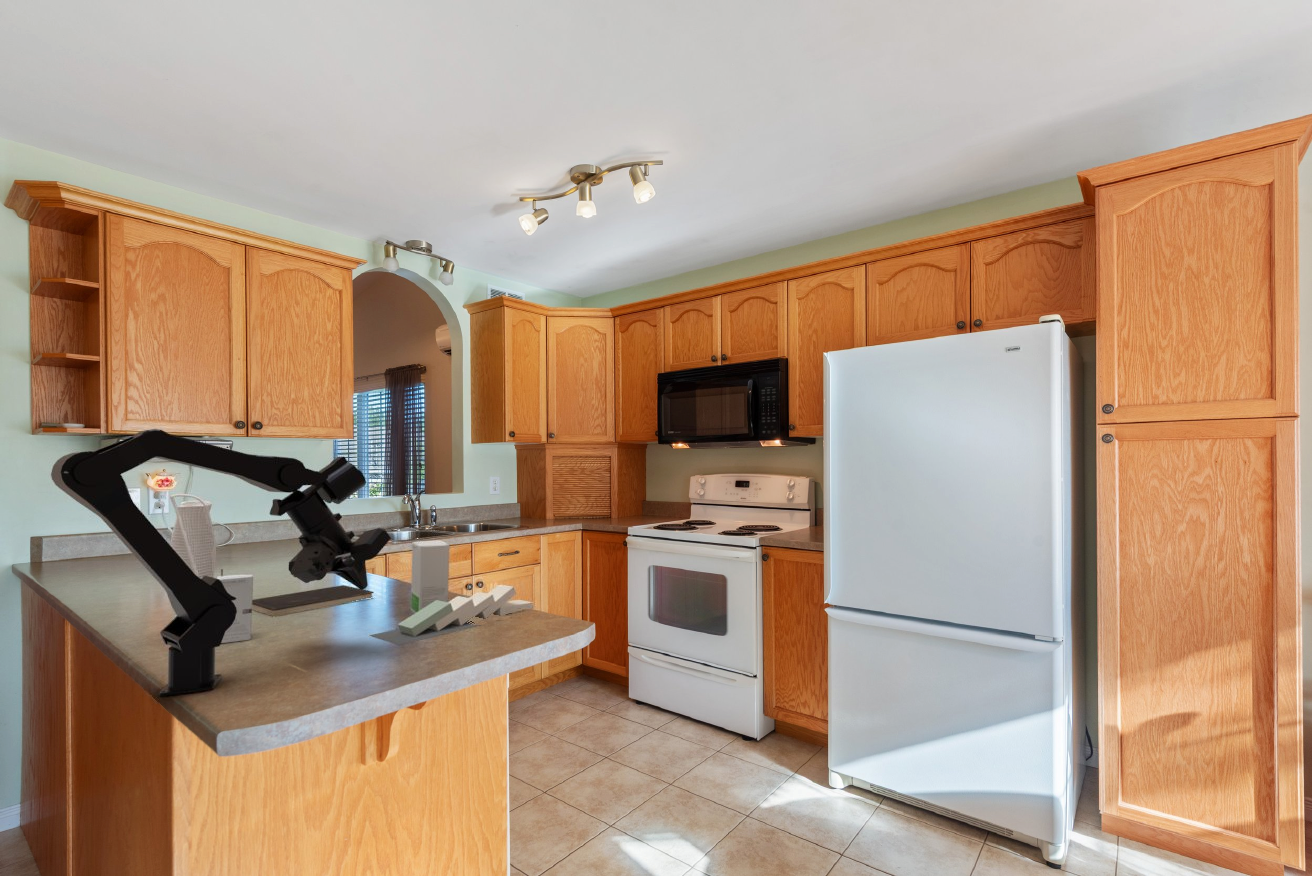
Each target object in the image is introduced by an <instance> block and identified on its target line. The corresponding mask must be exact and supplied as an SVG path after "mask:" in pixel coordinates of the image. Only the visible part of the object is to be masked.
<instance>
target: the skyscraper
mask: <svg viewBox="0 0 1312 876" xmlns="http://www.w3.org/2000/svg"><path fill="white" fill-rule="evenodd" d="M176 497H187V498H192V499H195V500H185V501H182V502H180V503H179V505H177V504H176V501H175V498H176ZM169 499H170V500H171V503H172V507H173V508H174V510H175V511H174V512H175V514H176V515H175V516H176V517H175V521H174V524H173V525H174V526H173V529H172V532H171V533H172V534H171V537H170V543H169V545H170V546H171V547H172V548H173V549H174V550H175V552H176V553H177V554H178V555H179V556H180V557H181V559H182V560H183V561H184V562H185V563H186V564H187V566H188V567H189V568H190V569H191V570H192V571H193V572H194V574H195V575H196V576H198V577H199V578H200V579H202V578H203V577H204V576H209V577H213V578H215V577H214V576H215V569H216V561H217V545H216V536H215V532H214V527H213V522H212V518H211V515H210V514H211V513H210V510H211V508H212V505H213V504H212V502H211V501H208V500H207V501H206V500H203V499H202V498H201V497H199V496H197V495H194V494H188V493H175V494H172V495H170V496H169ZM220 576H224V568H220ZM176 616H177V615H176V613H175V614H174V616H173V619H174V618H175V617H176Z"/></svg>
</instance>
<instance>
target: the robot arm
mask: <svg viewBox="0 0 1312 876" xmlns="http://www.w3.org/2000/svg"><path fill="white" fill-rule="evenodd" d="M152 459H159V460H164V461H168V462H173V463H177V464H181V465H185V466H188V467H194V468H199V469H202V470H207V471H211V472H214V473H215V472H216V473H221V474H224V475H229V476H233V477H235V478H237V479H240V480H243V481H244V482H245V483H248V484H250V485H252V486H255V487H257V488H260V489H261V490H263V491H264V490H265V491H267V492H271V493H289V494H288V495H286V496H285V497H284V498H283V499H280V498H274V499H272V505H271V507H270V510H269V515H270V516H274V517H275V516H276V517H282V516H283V515H285V514H287V515H288V517H289V518H290V519H291V521H292V522H293V523H294V525H295V526H296V527H297V529H298V530H299V532H300V533H301V535H299V536H298V541H299V544H300V545H301V547H302V549H301V550H300V551H299V552H297V554H296V555H295V556H294V557H293V558H291V560H290V561H289V562H288V571H289V572H290V575H292V576H293V578H296V579H298V580H300V581H302V582H303V583H304V584H309V583H310V582H313V581H321V580H323V579H324V578H325V577H326V575H327V574H332V575H333V574H335V575H337V576H338V577H340V578H342V579H343V580H345V581H347V582H349V583H350V584H352V585H353V586H355V588H358V589H361V590H362V589H363V590H366V589H367V588H368V586H369V585H368V577H367V574H368V573H367V567H366V566H367V565H366V561H369V560H372V559H374V558H376V557H377V556H378V554H379V553H380V552H381V551H382V550H383V549H384V547H385V546H386V545H387V543H389V541H390V540H391V536H390V534H389V533H388V531H387V530H386V529H385V528H382V527H377V528H373V529H369V530H366V531H363V533H362V534H361V535H360V536H359V537H358V538H356V539H353V538H354V537H355V533H354V532H353V531H352V530H350V531H346V530H345V528H344V527H343V526H342V524H341V523H340V520H342V518H343V516H342V514H340V512H338V513H333V511H332V510H331V508H330V507H329V506H328V505H327V504H331V503H334V504H336V505H340V504H341V503H343V502H344V501H346V500H347V499H348V498H349V497H351V496H352V495H354V494H355V493H357V491H359V490H361V489H362V488H363V487H365V486H366V484H367V481H366V477H365V475H364V474H363V472H362V470H361V469H358V468H357V467H356V466H355V465H354V464H353V463H352V462H350V461H348V460H347V458H346V457H345V456H337V457H336V458H334V459H333V460H332V461H331V462H330V463H329V464H327V465H326V466H325V467H323V468H321V469H320V470H319V471H317V470H313V469H310V468H306V466H305V465H304V463H303V462H302V461H301V460H299V459H297V458H295V457H294V458H293V457H284V456H276V455H275V456H274V455H263V454H262V455H261V454H252V453H251V454H249V453H245V452H240V451H237V450H233V449H229V448H226V447H222V446H219V445H214V444H210V443H206V442H203V441H199V440H195V439H192V438H191V439H190V438H187V437H182V436H179V435H175V434H171V433H168V432H166V431H165V430H163V429H157V428H152V429H145V430H141V431H139V432H137V433H135V434H134V435H132V436H130V437H127V438H125V439H122V440H120V441H117V442H114V443H112V444H110V445H106V446H104V447H102V448H100V449H97V450H96V449H95V451H91V450H89V451H88V450H87V451H79V452H78V451H77V452H76V451H75V452H70V453H67V454H65V455H63V456H62V457H61V456H60V457H59V458H58V459H57V460H56V461H55V462H54V464H53V465H52V469H51V473H50V477H51V480H52V482H53V483H54V485H55V486H56V487H57V488H59V489H60V490H61V491H62V492H64V493H65V494H67V495H68V496H69V497H71V498H72V499H73V500H75V501H76V502H77V503H79V504H81V505H82V506H83V507H85V508H87V510H89V511H90V512H92V513H93V514H95V515H97V516H98V517H99V518H100V519H101V520H102V521H103V522H104V523H105V525H107V527H108V528H110V530H111V531H112V533H114V535H116V536H117V538H118V539H119V540H120V541H121V543H123V544H124V545H125V547H126V548H127V549H128V550H129V551H130V553H132V555H134V556H135V558H136V559H137V560H138V561H139V562H140V563H141V564H142V566H144V567H145V569H146V570H147V571H148V572H149V574H150V575H151V576H152V577H153V578H154V579H155V580H156V581H157V582H158V583H159V584H160V586H161V587H162V588H163V589H164V591H165V592H166V594H167V597H168V600H169V603H170V605H171V608H172V609H173V611H174V612H175V613H176V615H177V616H176V617H175V618H174V617H173V619H171V621H170V622H169V623H168V624H167V625H166V626H165V627H164V628H163V629H162V630H161V631H160V636H161V639H162V640H163V643H164V644H165V645H168V646H169V647H168V656H167V657H168V659H167V660H168V664H167V667H168V670H167V671H168V673H167V684H166V685H165V686H164V687H163V688H162V689H161V690H160V691H159V694H158V695H159V696H160V697H164V696H172V695H181V694H189V693H196V692H204V691H210V690H214V688H215V687H216V685H217V684H218V683H219V681H220V680H222V678H223V677H222V676H223V675H222V673H217V674H216V648H217V647H220V646H221V644H222V643H221V642H222V639H223V637H224V634H225V632H226V630H227V629H228V628H229V627H230V626H231V625H232V624H233V622H234V620H235V617H236V613H237V609H236V606H235V605H234V603H233V602H232V600H236V597H233V596H231V595H230V594H229V593H228V592H227V591H226V589H225V587H224V586H223V584H222V582H221V581H220V580H219V579H217V577H209V576H204V577H203V578H202V579H200V578H199V577H198V576H196V575H195V574H194V572H193V571H192V570H191V569H190V568H189V567H188V566H187V564H186V563H185V562H184V561H183V560H182V559H181V557H180V556H179V555H178V554H177V553H176V552H175V550H174V549H173V548H172V547H171V546H170V543H169V542H168V541H167V540H166V539H165V538H164V537H163V535H162V534H161V533H160V532H159V531H158V530H157V528H156V527H155V526H154V525H153V524H152V523H151V521H150V520H149V519H148V518H147V517H146V516H145V514H144V513H143V512H142V510H141V509H139V507H138V506H137V504H135V503H134V501H133V498H132V497H131V493H130V492H129V489H128V485H127V484H126V481H125V480H124V477H123V476H122V474H124V473H127V472H128V471H131V470H132V469H134V468H137V467H139V466H140V465H142V464H144V463H146V462H148V461H150V460H152ZM304 486H308V487H306V488H305V489H304V490H302V491H301V490H300V489H302V487H304ZM352 539H353V540H352Z"/></svg>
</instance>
